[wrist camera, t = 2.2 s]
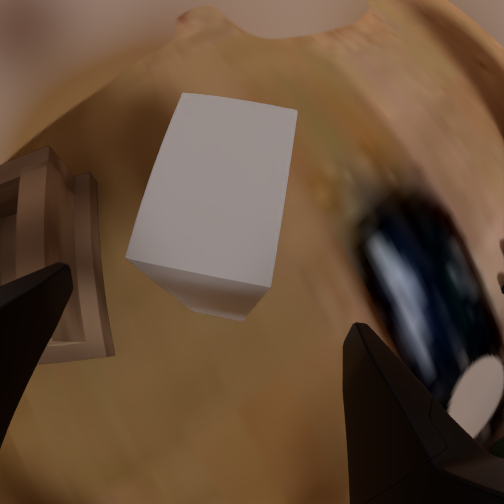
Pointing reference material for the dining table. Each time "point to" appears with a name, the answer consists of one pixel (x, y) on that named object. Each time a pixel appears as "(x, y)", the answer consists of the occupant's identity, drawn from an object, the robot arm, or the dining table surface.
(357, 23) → the dining table surface
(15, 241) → the clay rack
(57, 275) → the robot arm
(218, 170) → the clay bar
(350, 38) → the dining table surface
